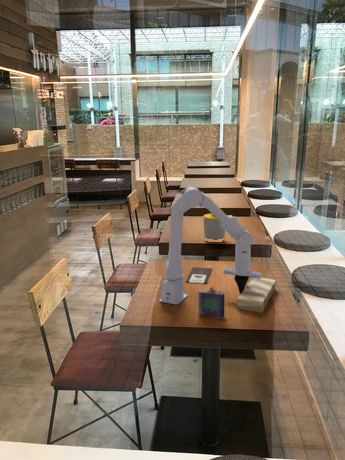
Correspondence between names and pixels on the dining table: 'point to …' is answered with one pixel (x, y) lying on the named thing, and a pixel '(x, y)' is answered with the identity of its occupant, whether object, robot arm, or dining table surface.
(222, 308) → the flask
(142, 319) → the dining table surface
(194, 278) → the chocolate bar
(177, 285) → the robot arm
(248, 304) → the striped cream block
